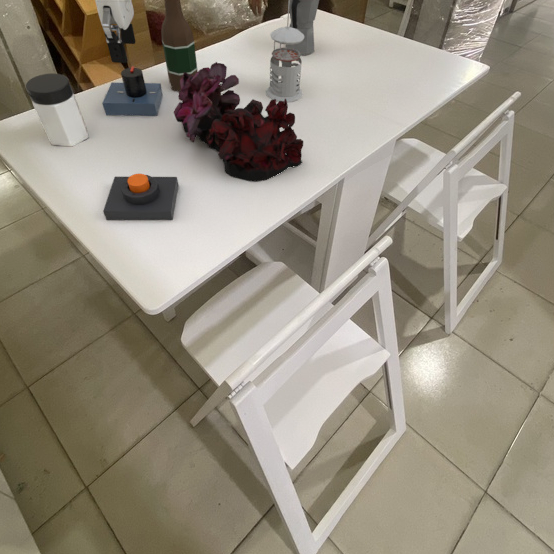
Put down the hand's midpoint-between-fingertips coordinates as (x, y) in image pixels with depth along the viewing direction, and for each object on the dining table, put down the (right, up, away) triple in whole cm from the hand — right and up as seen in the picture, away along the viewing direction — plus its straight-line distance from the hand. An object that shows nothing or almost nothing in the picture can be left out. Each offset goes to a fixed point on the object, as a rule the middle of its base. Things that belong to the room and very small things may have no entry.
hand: (124, 52), depth 89 cm
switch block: (+8, -36, -12) cm, 38 cm away
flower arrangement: (+24, -21, +1) cm, 32 cm away
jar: (-13, -19, +1) cm, 22 cm away
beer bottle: (+9, 0, +17) cm, 19 cm away
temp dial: (0, -5, +8) cm, 9 cm away
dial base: (-1, -7, +10) cm, 12 cm away
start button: (+9, -33, -15) cm, 37 cm away
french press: (+35, -1, +17) cm, 39 cm away
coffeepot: (+40, +19, +33) cm, 55 cm away
